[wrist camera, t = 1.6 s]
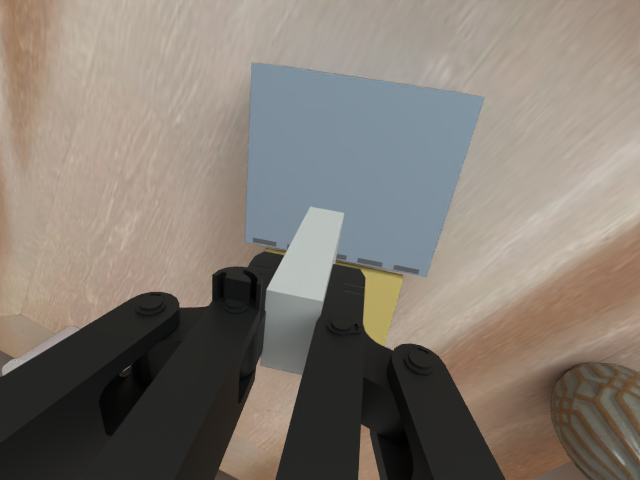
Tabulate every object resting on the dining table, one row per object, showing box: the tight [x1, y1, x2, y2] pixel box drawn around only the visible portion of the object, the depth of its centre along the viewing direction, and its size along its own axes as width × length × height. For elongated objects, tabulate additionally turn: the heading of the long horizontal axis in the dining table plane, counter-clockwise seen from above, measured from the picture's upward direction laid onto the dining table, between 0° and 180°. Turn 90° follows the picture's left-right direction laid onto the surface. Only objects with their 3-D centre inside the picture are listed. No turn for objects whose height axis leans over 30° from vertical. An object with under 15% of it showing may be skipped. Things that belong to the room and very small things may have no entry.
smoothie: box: [2, 326, 80, 375], centre depth 51 cm, size 6×6×14 cm
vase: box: [550, 363, 640, 480], centre depth 38 cm, size 13×13×18 cm
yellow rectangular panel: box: [265, 248, 403, 346], centre depth 36 cm, size 10×14×1 cm
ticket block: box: [245, 63, 484, 277], centre depth 34 cm, size 16×18×9 cm
